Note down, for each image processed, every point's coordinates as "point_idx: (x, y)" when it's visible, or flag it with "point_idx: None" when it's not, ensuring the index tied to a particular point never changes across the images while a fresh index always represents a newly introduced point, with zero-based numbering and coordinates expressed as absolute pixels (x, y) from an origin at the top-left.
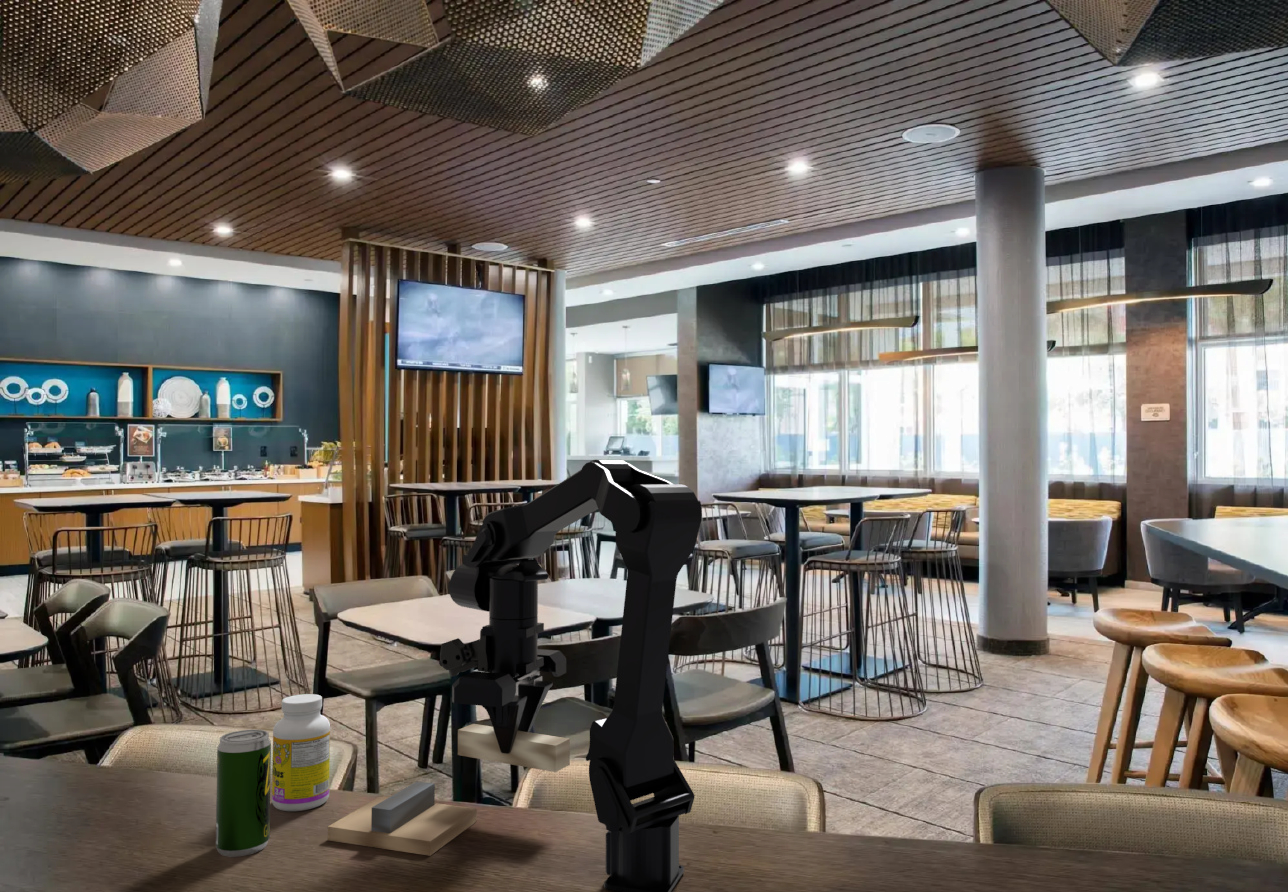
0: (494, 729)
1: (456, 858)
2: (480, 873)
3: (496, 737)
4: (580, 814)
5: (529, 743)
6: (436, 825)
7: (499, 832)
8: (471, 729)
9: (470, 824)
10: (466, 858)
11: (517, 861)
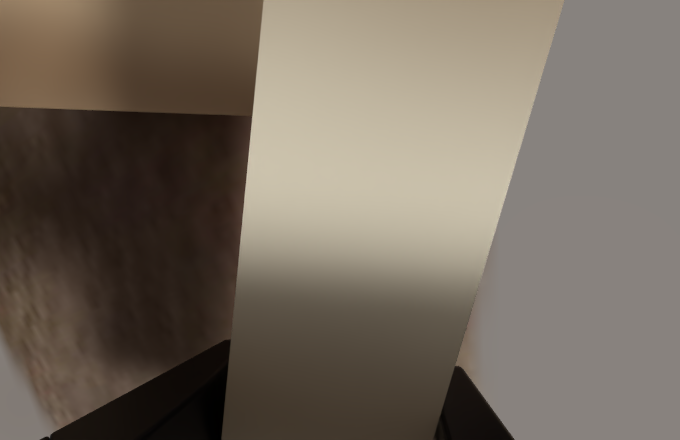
0: (79, 425)
1: (45, 183)
2: (11, 281)
3: (143, 385)
4: None
5: None
6: (88, 50)
7: None
8: (343, 27)
9: None
10: (58, 210)
11: (106, 341)
